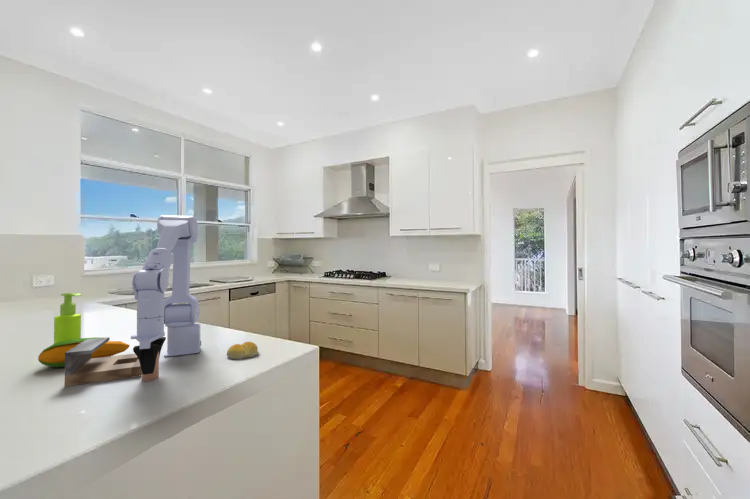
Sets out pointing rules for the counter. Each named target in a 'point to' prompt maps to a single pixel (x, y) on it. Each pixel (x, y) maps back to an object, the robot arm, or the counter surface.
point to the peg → (155, 374)
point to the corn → (56, 352)
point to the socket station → (97, 364)
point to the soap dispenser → (67, 320)
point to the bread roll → (242, 350)
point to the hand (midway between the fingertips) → (150, 370)
